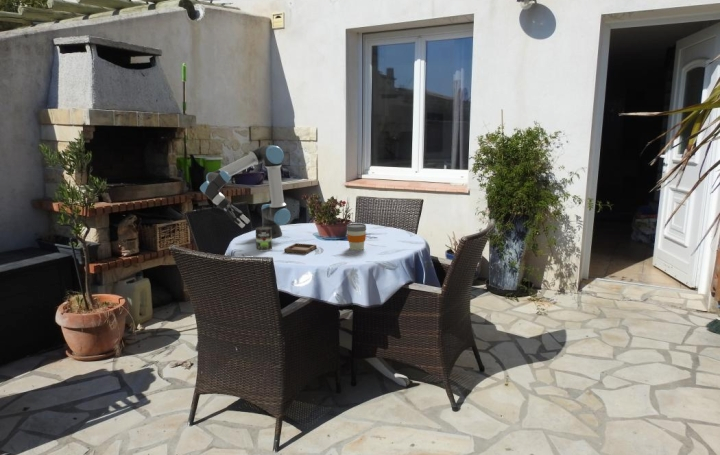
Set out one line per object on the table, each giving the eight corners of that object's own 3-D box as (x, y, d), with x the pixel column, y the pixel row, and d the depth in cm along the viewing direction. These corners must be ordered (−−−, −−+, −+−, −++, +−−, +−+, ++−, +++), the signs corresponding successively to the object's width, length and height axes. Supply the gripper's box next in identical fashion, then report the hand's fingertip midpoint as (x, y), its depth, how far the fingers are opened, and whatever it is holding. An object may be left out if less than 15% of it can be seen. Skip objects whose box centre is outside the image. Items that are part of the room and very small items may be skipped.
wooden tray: (295, 246, 343) (295, 243, 343) (316, 248, 338) (316, 244, 337) (284, 252, 330) (284, 248, 329) (305, 254, 324) (305, 250, 324)
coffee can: (272, 250, 335) (271, 229, 332) (256, 251, 333) (255, 230, 330) (272, 246, 345) (271, 225, 342) (256, 247, 343) (255, 226, 340)
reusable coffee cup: (349, 251, 330) (349, 228, 326) (344, 246, 341) (344, 224, 338) (368, 249, 333) (368, 226, 330) (363, 245, 345) (363, 222, 341)
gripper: (222, 202, 346) (246, 224, 348) (211, 209, 321) (237, 232, 324) (230, 194, 344) (254, 216, 347) (219, 200, 320) (245, 224, 323)
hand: (246, 224), depth 336 cm, fingers open, 13 cm apart
